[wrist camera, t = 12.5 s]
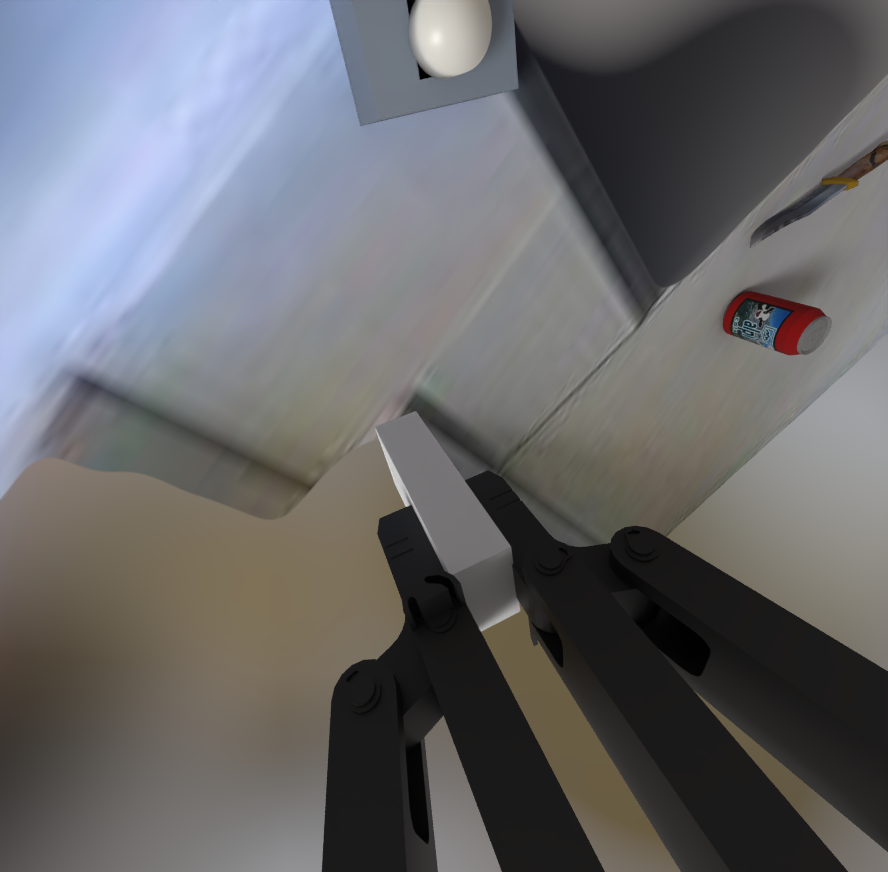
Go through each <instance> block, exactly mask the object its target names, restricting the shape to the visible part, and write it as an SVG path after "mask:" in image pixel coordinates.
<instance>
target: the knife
mask: <svg viewBox="0 0 888 872" xmlns="http://www.w3.org/2000/svg"><path fill="white" fill-rule="evenodd" d="M886 160H888V141H885V142H883V143H881V144H879V145H878V146H877V147H876V148H875V149H874V150H873V151H872V152H870V153H869V154H867V155H866V156H864V157H863V158H861V159H860V160H858V161H857V162H856V163H854V164H853V165H852V166H850V167H849V168H848V169H846V170H845V171H844V172H843V173H841V174H840V175H839V176H837V177H831V178H826V179H822V186H820V187H819V188H818V189H816V190H815V191H814V192H812V193H811V194H809V195H808V196H807V197H805V198H804V199H802V200H801V201H799V202H798V203H796V204H794V205H793V206H791V207H789V208H787V209H786V210H784V211H782V212H780V213H778V214H777V215H775V216H773V217H771V218H770V219H768V220H767V221H765V222H764V223H763V224H762V225H761V226H760V227H759V228H758V229H757V230H756V231H755V232H754V234H753V235H752V237H751V241H750V248H751V247H752V246H754V245H756V244H757V243H759V242H761V241H762V240H764V239H765V238H767V237H768V236H770V235H771V234H773V233H775V232H776V231H778V230H780V229H781V228H783V227H785V226H787V225H789V224H791V223H793V222H795V221H797V220H799V219H801V218H804V217H806V216H808V215H810V214H811V213H813V212H814V211H815V210H817V209H818V208H819V207H821V206H822V205H823V204H825V203H826V202H828V201H829V200H830V199H832V198H833V197H834V196H836V195H837V194H839V193H840V192H841V191H843V190H849V189H851V188H854V187H856V186H858V182H859V181H858V179H859V178H861V177H862V176H864V175H865V174H867V173H869V172H870V171H872V170H873V169H875V168H876V167H878V166H879V165H881V164H882V163H883V162H885V161H886Z"/></svg>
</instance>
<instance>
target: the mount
mask: <svg viewBox="0 0 888 872" xmlns="http://www.w3.org/2000/svg"><path fill="white" fill-rule="evenodd" d="M414 2H415V0H330V4H331V8H332V12H333V16H334V20H335V24H336V28H337V32H338V37H339V41H340V45H341V49H342V53H343V57H344V61H345V65H346V69H347V73H348V77H349V81H350V85H351V89H352V93H353V97H354V101H355V105H356V109H357V113H358V118H359V122H360V126H362V125H366V124H370V123H374V122H379V121H383V120H387V119H392V118H396V117H400V116H405V115H409V114H413V113H418V112H422V111H426V110H431V109H435V108H439V107H444V106H448V105H452V104H456V103H461V102H465V101H469V100H474V99H478V98H482V97H486V96H490V95H494V94H498V93H502V92H506V91H510V90H514V89H518V76H517V60H516V43H515V27H514V10H513V0H488V2H489V5H490V10H491V17H492V32H491V39H490V43H489V46H488V49H487V51H486V54H485V56H484V57H483V59H482V60H481V62H480V63H479V64H478V65H477V66H476V67H475V68H473V69H472V70H470V71H468V72H466V73H463V74H460V75H458V76H455V77H453V78H450V79H444V80H443V79H436V78H434V77H431V78H426V79H421V80H420V77H419V72H418V66H417V61H416V59H415V57H414V54H413V52H412V49H411V45H410V41H409V29H408V27H409V14H410V13H411V9H412V6H413V4H414Z"/></svg>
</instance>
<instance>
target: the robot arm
mask: <svg viewBox="0 0 888 872" xmlns="http://www.w3.org/2000/svg"><path fill="white" fill-rule="evenodd" d="M375 429H376V432H377V435H378V437H379V440H380V443H381V446H382V448H383V452H384V454H385V457H386V460H387V462H388V465H389V468H390V471H391V474H392V477H393V480H394V483H395V485H396V487H397V489H398V491H399V493H400V496H401V498H402V499H403V502H404V504H405V506H406V507H405V508H403V509H400V510H398V511H396V512H393V513H391V514H389V515H387V516H384V517H382V518H380V520H379V526H378V533H377V534H378V537H379V540H380V542H381V545H382V548H383V550H384V553H385V556H386V558H387V561H388V564H389V566H390V569H391V572H392V575H393V577H394V580H395V583H396V585H397V588H398V591H399V594H400V596H401V599H402V604H403V611H404V614H405V623H404V626H403V630H402V632H401V633H400V635H399V637H398V639H397V640H396V641H395V642H394V643H393V644H392V646H391V647H390V648H389V649H387V650H386V651H385V652H384V653H383V654H382V655H381V656H380V657H379V658H378V659H377V660H376V659H371V660H362V661H360V662H358V663H356V664H354V665H352V666H351V667H350V668H348V669H347V670H346V671H345V672H344V673H343V674H342V675H341V677H340V679H339V680H338V682H337V684H336V686H335V688H334V692H333V697H332V701H331V718H330V735H329V753H328V771H327V789H326V807H325V825H324V843H323V861H322V872H438V870H437V860H436V850H435V840H434V830H433V820H432V810H431V800H430V791H429V781H428V771H427V760H426V750H425V740H424V737H425V736H426V735H427V733H428V732H429V731H430V730H431V729H432V728H433V726H435V724H436V723H437V722H438V721H439V720H440V718H442V716H443V715H444V717H445V720H446V723H447V725H448V728H449V731H450V733H451V736H452V739H453V742H454V744H455V747H456V749H457V752H458V755H459V758H460V760H461V763H462V766H463V768H464V771H465V774H466V776H467V779H468V782H469V784H470V787H471V790H472V792H473V795H474V798H475V801H476V803H477V806H478V809H479V811H480V814H481V817H482V819H483V822H484V825H485V827H486V830H487V833H488V835H489V838H490V841H491V843H492V846H493V849H494V852H495V854H496V857H497V860H498V862H499V865H500V868H501V870H502V872H605V871H604V869H603V867H602V865H601V863H600V861H599V860H598V858H597V856H596V854H595V852H594V850H593V848H592V846H591V844H590V842H589V840H588V838H587V836H586V834H585V832H584V831H583V829H582V827H581V825H580V823H579V821H578V819H577V817H576V815H575V813H574V811H573V809H572V807H571V805H570V804H569V802H568V800H567V798H566V796H565V794H564V792H563V790H562V788H561V786H560V784H559V782H558V780H557V778H556V776H555V774H554V772H553V771H552V769H551V767H550V765H549V763H548V761H547V759H546V757H545V755H544V753H543V751H542V749H541V747H540V745H539V743H538V742H537V740H536V738H535V736H534V734H533V732H532V730H531V728H530V726H529V724H528V722H527V720H526V718H525V716H524V714H523V712H522V711H521V709H520V707H519V705H518V703H517V701H516V699H515V697H514V695H513V693H512V691H511V689H510V687H509V685H508V683H507V682H506V680H505V678H504V676H503V674H502V672H501V670H500V668H499V666H498V664H497V662H496V660H495V659H494V657H493V655H492V652H491V651H490V649H489V647H488V645H487V643H486V641H485V639H484V637H483V635H482V633H481V631H483V630H485V629H487V628H489V627H491V626H492V625H495V624H497V623H498V622H500V621H502V620H504V619H506V618H508V617H510V616H512V615H514V614H516V613H518V612H519V611H520V607H519V602H520V604H521V605H522V607H523V609H524V610H525V612H526V613H527V615H528V618H529V627H530V635H531V639H532V642H533V645H534V646H535V645H537V644H538V643H537V640H538V641H539V643H540V644H541V646H542V648H543V649H544V651H545V653H546V654H547V656H548V658H549V659H550V661H551V662H552V664H553V665H554V667H555V669H556V670H557V672H558V673H559V675H560V677H561V678H562V680H563V682H564V683H565V685H566V687H567V688H568V690H569V691H570V693H571V695H572V696H573V698H574V700H575V701H576V703H577V704H578V706H579V708H580V709H581V711H582V712H583V714H584V716H585V717H586V719H587V721H588V722H589V723H590V725H591V727H592V728H593V730H594V732H595V733H596V735H597V737H598V738H599V740H600V741H601V743H602V745H603V746H604V748H605V750H606V751H607V753H608V754H609V756H610V758H611V759H612V761H613V762H614V764H615V766H616V767H617V769H618V771H619V772H620V774H621V775H622V777H623V779H624V780H625V782H626V783H627V785H628V787H629V788H630V790H631V792H632V793H633V795H634V796H635V798H636V800H637V801H638V803H639V805H640V806H641V808H642V809H643V811H644V813H645V814H646V816H647V817H648V819H649V821H650V822H651V824H652V825H653V827H654V829H655V830H656V832H657V834H658V835H659V837H660V838H661V840H662V841H663V843H664V845H665V847H666V848H667V850H668V851H669V853H670V855H671V856H672V858H673V859H674V861H675V863H676V864H677V866H678V867H679V869H680V871H681V872H848V871H847V870H846V869H845V867H844V866H843V865H842V864H841V863H840V862H839V860H838V859H837V858H836V857H835V856H834V855H833V853H832V852H831V851H830V850H829V849H828V848H827V846H826V845H825V844H824V843H823V842H822V840H821V839H820V838H819V837H818V836H817V835H816V833H815V832H814V831H813V830H812V829H811V828H810V826H809V825H808V824H807V823H806V822H805V821H804V819H803V818H802V817H801V816H800V815H799V814H798V812H797V811H796V810H795V809H794V808H793V807H792V805H791V804H790V803H789V802H788V801H787V800H786V798H785V797H784V796H783V795H782V794H781V792H780V791H779V790H778V789H777V788H776V787H775V785H774V784H773V783H772V782H771V781H770V780H769V778H768V777H767V776H766V775H765V774H764V773H763V771H762V770H761V769H760V768H759V767H758V766H757V764H756V763H755V762H754V761H753V760H752V758H751V757H750V756H749V755H748V754H747V753H746V751H745V750H744V749H743V748H742V747H741V746H740V745H739V743H738V742H737V741H736V740H735V739H734V737H733V736H732V735H731V734H730V733H729V732H728V730H727V729H726V728H725V727H724V726H723V725H722V723H721V722H720V721H719V720H718V719H717V717H716V716H715V715H714V714H713V713H712V712H711V710H710V709H709V708H708V707H707V706H706V705H705V703H704V702H703V701H702V700H701V699H700V698H699V697H698V695H697V694H696V693H695V692H697V693H698V694H699V695H700V696H701V697H703V698H704V699H705V700H706V701H708V702H709V703H710V704H711V705H712V706H713V707H715V708H716V709H717V710H718V711H719V712H721V713H722V714H723V715H724V716H725V717H727V718H728V719H729V720H730V721H731V722H733V723H734V724H735V725H736V726H737V727H739V728H740V729H741V730H742V731H743V732H745V733H746V734H747V735H748V736H749V737H751V738H752V739H753V740H754V741H755V742H757V743H758V744H759V745H760V746H761V747H763V748H764V749H765V750H766V751H767V752H769V753H770V754H771V755H772V756H773V757H775V758H776V759H777V760H778V761H779V762H781V763H782V764H783V765H784V766H785V767H787V768H788V769H789V770H790V771H791V772H792V773H794V774H795V775H796V776H797V777H799V778H800V779H801V780H802V781H803V782H804V783H806V784H807V785H808V786H809V787H811V788H812V789H813V790H814V791H815V792H817V793H818V794H819V795H820V796H821V797H823V798H824V799H825V800H826V801H827V802H828V803H830V804H831V805H832V806H833V807H834V808H836V809H837V810H838V811H839V812H840V813H842V814H843V815H844V816H845V817H847V818H848V819H849V820H850V821H851V822H852V823H854V824H855V825H856V826H857V827H859V828H860V829H861V830H862V831H863V832H865V833H866V834H867V835H868V836H869V837H870V838H872V839H873V840H874V841H875V842H877V843H878V844H879V845H880V846H881V847H882V848H884V849H885V850H886V851H887V852H888V671H886V670H885V669H883V668H881V667H879V666H878V665H876V664H875V663H873V662H871V661H870V660H868V659H867V658H865V657H863V656H862V655H860V654H858V653H857V652H855V651H853V650H852V649H850V648H848V647H847V646H845V645H843V644H842V643H840V642H838V641H837V640H835V639H834V638H832V637H830V636H829V635H827V634H825V633H824V632H822V631H820V630H819V629H817V628H815V627H814V626H812V625H810V624H809V623H807V622H805V621H804V620H802V619H800V618H799V617H797V616H795V615H794V614H792V613H790V612H789V611H787V610H786V609H784V608H782V607H780V606H779V605H777V604H776V603H774V602H772V601H771V600H769V599H767V598H766V597H764V596H762V595H761V594H759V593H758V592H756V591H754V590H752V589H751V588H749V587H748V586H746V585H744V584H743V583H741V582H739V581H737V580H736V579H734V578H733V577H731V576H729V575H728V574H726V573H724V572H723V571H721V570H720V569H718V568H716V567H715V566H713V565H711V564H710V563H708V562H706V561H705V560H703V559H701V558H700V557H698V556H696V555H695V554H693V553H691V552H690V551H688V550H686V549H685V548H683V547H681V546H680V545H678V544H677V543H675V542H673V541H671V540H670V539H668V538H667V537H665V536H663V535H662V534H660V533H658V532H656V531H654V530H652V529H649V528H647V527H640V526H631V527H624V528H623V529H621V530H619V531H617V532H616V533H615V534H614V536H613V537H612V539H611V543H608V544H601V545H595V546H588V547H574V546H569V545H567V544H565V543H562V542H559V541H557V540H555V539H554V538H553V537H552V536H551V535H550V534H549V533H548V532H547V531H546V530H545V528H544V527H543V526H542V525H541V524H540V522H539V521H538V520H537V519H536V518H535V516H534V515H533V514H532V513H531V512H530V510H529V509H528V508H527V507H526V506H525V504H524V503H523V502H522V501H520V498H519V497H518V496H517V495H516V493H515V492H514V491H512V489H511V487H510V486H509V485H508V484H507V483H506V481H505V480H504V479H503V478H502V477H500V476H498V475H496V474H494V473H492V472H490V471H486V472H483V473H481V474H479V475H476V476H474V477H472V478H469V479H467V480H465V481H464V479H463V478H462V476H461V475H460V473H459V472H458V471H457V469H456V468H455V466H454V465H453V463H452V462H451V461H450V459H449V458H448V456H447V455H446V454H445V452H444V451H443V449H442V448H441V446H440V445H439V444H438V442H437V441H436V439H435V438H434V437H433V435H432V434H431V432H430V431H429V429H428V428H427V427H426V425H425V424H424V422H423V421H422V419H421V418H420V417H419V415H418V414H417V412H416V411H415V412H412V413H410V414H407V415H405V416H402V417H399V418H397V419H394V420H392V421H389V422H387V423H384V424H381V425H379V426H376V427H375ZM693 690H694V691H695V692H694V691H693Z"/></svg>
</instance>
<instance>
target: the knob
mask: <svg viewBox="0 0 888 872" xmlns="http://www.w3.org/2000/svg"><path fill="white" fill-rule="evenodd" d="M408 29H409V41H410V45H411V49H412V52H413V54H414V57H415V59H416V61H417V66H418V72H419V76H424V75H426V74H428V75H430V76H432V77H434V78H436V79H443V80H444V79H450V78H453V77H455V76H458V75H460V74H463V73H466V72H468V71H470V70H472V69H473V68H475V67H476V66H477V65H478V64H479V63H480V62H481V60H482V59H483V57H484V56H485V54H486V51H487V49H488V46H489V43H490V39H491V32H492V17H491V10H490V5H489V2H488V0H415V2H414V4H413V6H412V9H411V13H410V17H409V27H408Z"/></svg>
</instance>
